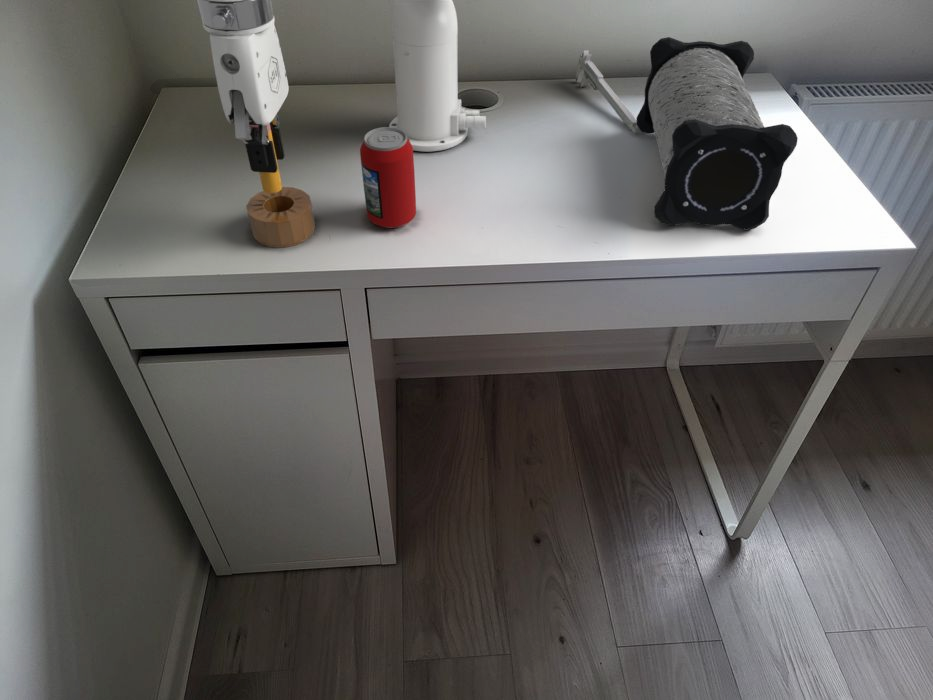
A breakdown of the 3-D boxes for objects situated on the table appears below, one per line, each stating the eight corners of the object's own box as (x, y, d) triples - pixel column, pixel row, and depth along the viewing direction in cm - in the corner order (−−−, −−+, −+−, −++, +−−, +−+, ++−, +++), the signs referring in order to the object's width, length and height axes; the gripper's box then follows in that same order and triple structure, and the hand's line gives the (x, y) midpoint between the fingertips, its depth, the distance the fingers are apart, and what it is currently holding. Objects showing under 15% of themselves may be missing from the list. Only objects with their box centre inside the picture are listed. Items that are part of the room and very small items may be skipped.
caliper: (574, 83, 127) (578, 47, 123) (580, 82, 128) (584, 46, 123) (635, 134, 114) (642, 97, 110) (641, 133, 114) (648, 96, 110)
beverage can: (367, 205, 99) (358, 125, 91) (415, 203, 100) (411, 123, 91) (367, 233, 95) (357, 151, 86) (417, 231, 95) (413, 149, 87)
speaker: (726, 131, 114) (755, 37, 104) (765, 237, 94) (806, 134, 84) (632, 126, 115) (652, 31, 104) (652, 230, 95) (678, 127, 84)
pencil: (284, 184, 91) (271, 118, 85) (279, 194, 90) (265, 127, 83) (266, 182, 91) (252, 117, 85) (260, 192, 90) (245, 126, 83)
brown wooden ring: (321, 213, 98) (317, 188, 95) (306, 249, 92) (301, 223, 89) (263, 210, 98) (257, 185, 96) (245, 245, 93) (238, 220, 90)
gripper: (247, 39, 69) (280, 201, 82) (291, -15, 81) (313, 135, 94) (173, 36, 70) (217, 198, 83) (226, -18, 81) (258, 132, 94)
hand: (268, 163), depth 88 cm, fingers closed on pencil, 2 cm apart
